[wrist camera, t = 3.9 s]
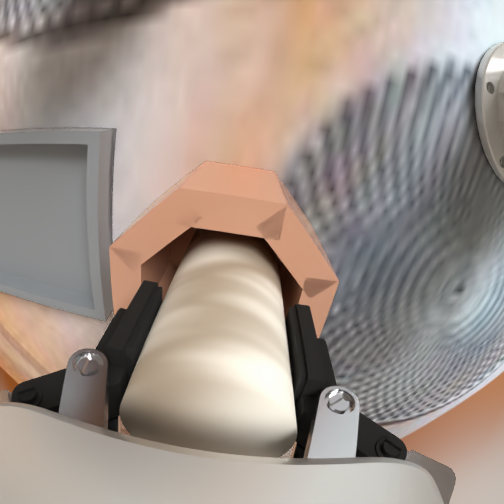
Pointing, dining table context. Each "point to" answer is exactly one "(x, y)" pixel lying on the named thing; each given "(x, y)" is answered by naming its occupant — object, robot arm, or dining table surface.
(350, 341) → the dining table surface
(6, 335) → the dining table surface
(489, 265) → the dining table surface
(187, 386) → the peg
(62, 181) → the tray
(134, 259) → the terracotta octagonal pot
